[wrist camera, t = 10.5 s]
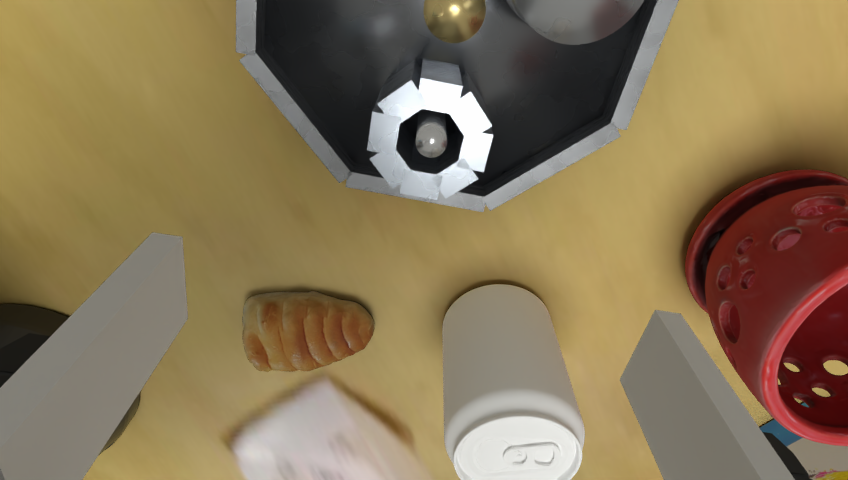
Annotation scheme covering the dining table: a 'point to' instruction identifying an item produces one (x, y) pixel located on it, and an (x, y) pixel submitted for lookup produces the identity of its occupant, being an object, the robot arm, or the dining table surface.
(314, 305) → the pastry
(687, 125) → the dining table surface
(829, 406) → the plant pot
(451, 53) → the tray
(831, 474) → the ink box
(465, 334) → the beverage can
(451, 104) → the gear
